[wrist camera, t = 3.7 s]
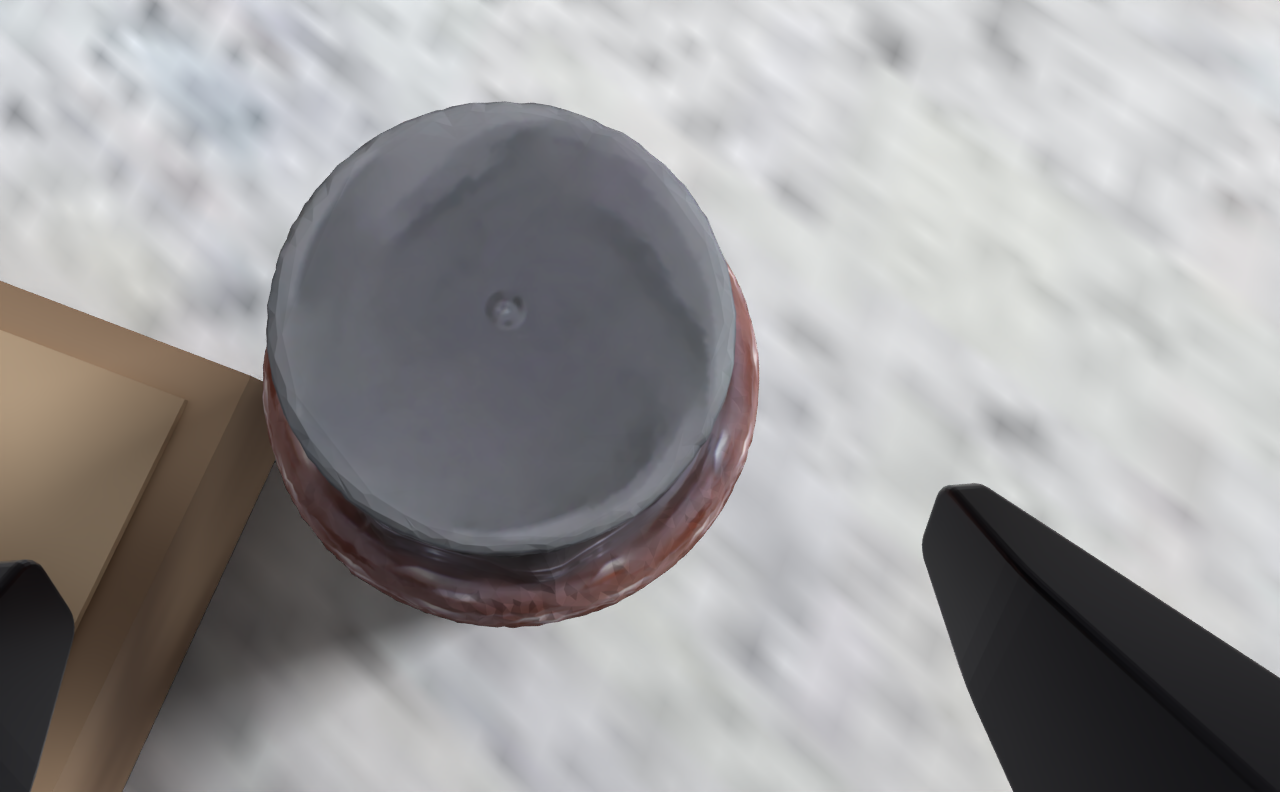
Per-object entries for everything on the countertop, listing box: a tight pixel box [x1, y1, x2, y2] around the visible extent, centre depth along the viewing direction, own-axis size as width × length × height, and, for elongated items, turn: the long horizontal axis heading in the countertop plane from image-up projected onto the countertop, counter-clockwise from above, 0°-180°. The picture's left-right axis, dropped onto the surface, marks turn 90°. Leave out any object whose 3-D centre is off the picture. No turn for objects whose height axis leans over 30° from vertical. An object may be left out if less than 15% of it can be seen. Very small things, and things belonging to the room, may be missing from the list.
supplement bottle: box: [263, 102, 759, 628], centre depth 12 cm, size 6×6×11 cm
